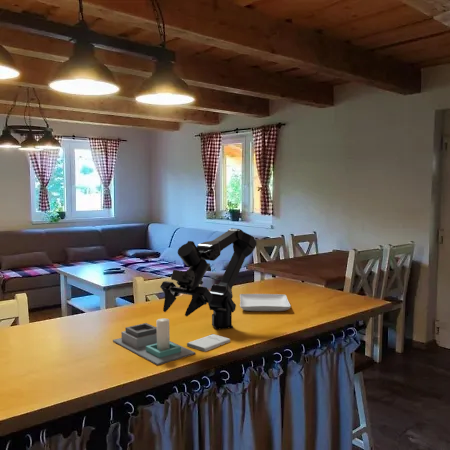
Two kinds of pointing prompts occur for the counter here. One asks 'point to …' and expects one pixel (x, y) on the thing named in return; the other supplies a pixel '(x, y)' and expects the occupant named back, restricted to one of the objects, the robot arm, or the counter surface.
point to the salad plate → (264, 302)
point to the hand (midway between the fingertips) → (174, 313)
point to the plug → (163, 334)
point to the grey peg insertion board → (150, 344)
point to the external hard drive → (208, 342)
